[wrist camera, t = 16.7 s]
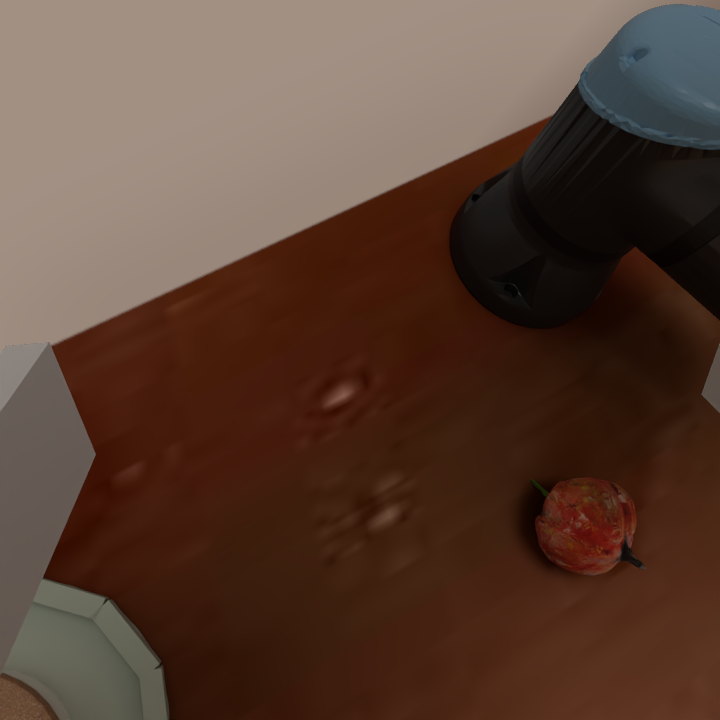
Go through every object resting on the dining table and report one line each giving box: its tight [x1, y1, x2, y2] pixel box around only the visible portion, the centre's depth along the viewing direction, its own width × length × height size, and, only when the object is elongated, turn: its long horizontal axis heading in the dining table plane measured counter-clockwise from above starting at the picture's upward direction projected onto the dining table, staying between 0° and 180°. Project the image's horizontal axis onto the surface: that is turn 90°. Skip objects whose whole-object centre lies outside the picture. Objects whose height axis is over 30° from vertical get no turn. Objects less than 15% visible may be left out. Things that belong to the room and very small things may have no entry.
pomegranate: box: [531, 477, 646, 576], centre depth 42 cm, size 7×7×10 cm
